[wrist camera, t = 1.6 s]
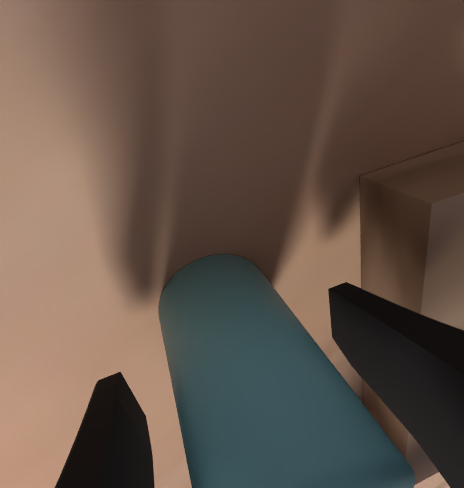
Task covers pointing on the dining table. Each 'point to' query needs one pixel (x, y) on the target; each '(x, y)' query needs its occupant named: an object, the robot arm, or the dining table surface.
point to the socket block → (414, 257)
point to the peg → (263, 390)
